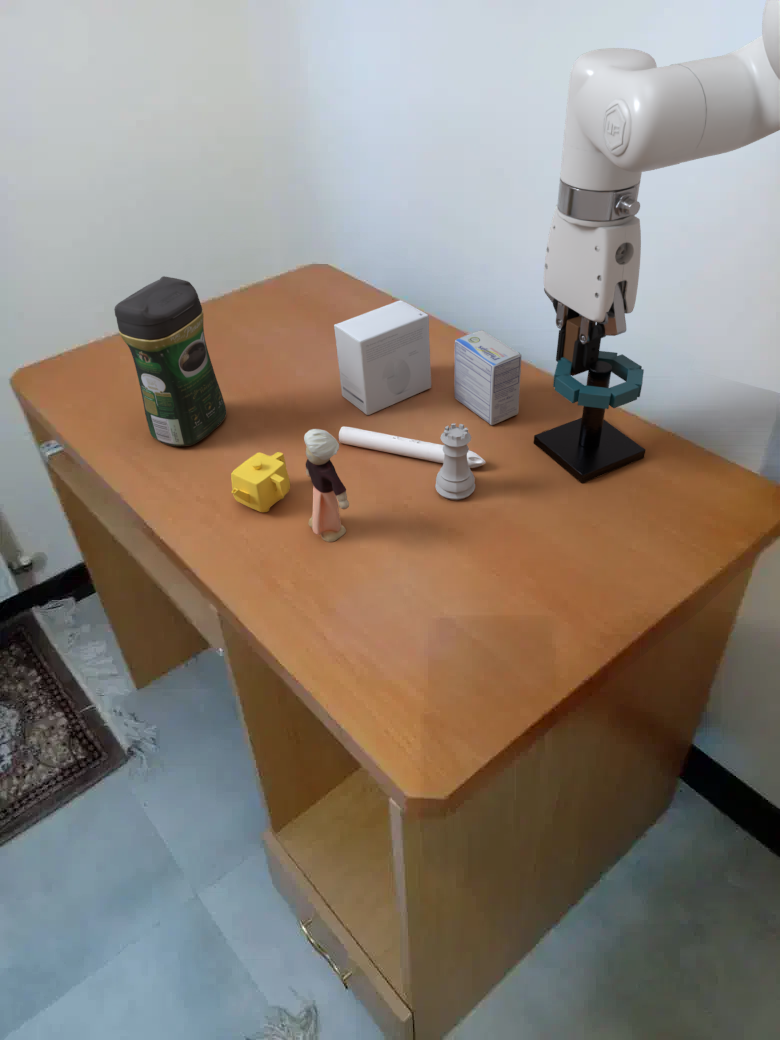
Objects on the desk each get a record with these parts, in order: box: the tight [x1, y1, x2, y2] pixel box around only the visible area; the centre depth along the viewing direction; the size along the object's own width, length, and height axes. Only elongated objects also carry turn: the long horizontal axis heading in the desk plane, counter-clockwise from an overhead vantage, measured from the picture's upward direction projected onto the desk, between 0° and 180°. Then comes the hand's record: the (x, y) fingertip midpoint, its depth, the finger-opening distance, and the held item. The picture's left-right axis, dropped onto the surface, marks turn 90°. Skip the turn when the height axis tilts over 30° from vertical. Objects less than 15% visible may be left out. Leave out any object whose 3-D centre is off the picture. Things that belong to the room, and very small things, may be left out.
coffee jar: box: [113, 275, 227, 447], centre depth 94 cm, size 10×8×19 cm
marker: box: [338, 425, 487, 469], centre depth 92 cm, size 18×2×2 cm, turn 68°
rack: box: [533, 361, 646, 484], centre depth 89 cm, size 9×9×11 cm
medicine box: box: [453, 329, 522, 426], centre depth 97 cm, size 8×4×9 cm, turn 32°
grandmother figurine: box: [303, 428, 350, 543], centre depth 80 cm, size 8×4×13 cm, turn 45°
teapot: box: [230, 451, 291, 513], centre depth 86 cm, size 8×6×5 cm
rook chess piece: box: [434, 422, 476, 501], centre depth 85 cm, size 4×4×8 cm
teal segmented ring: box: [552, 316, 645, 410], centre depth 85 cm, size 9×9×6 cm
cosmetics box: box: [333, 299, 432, 416], centre depth 101 cm, size 10×6×10 cm, turn 125°
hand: (576, 363), depth 89 cm, fingers closed on teal segmented ring
